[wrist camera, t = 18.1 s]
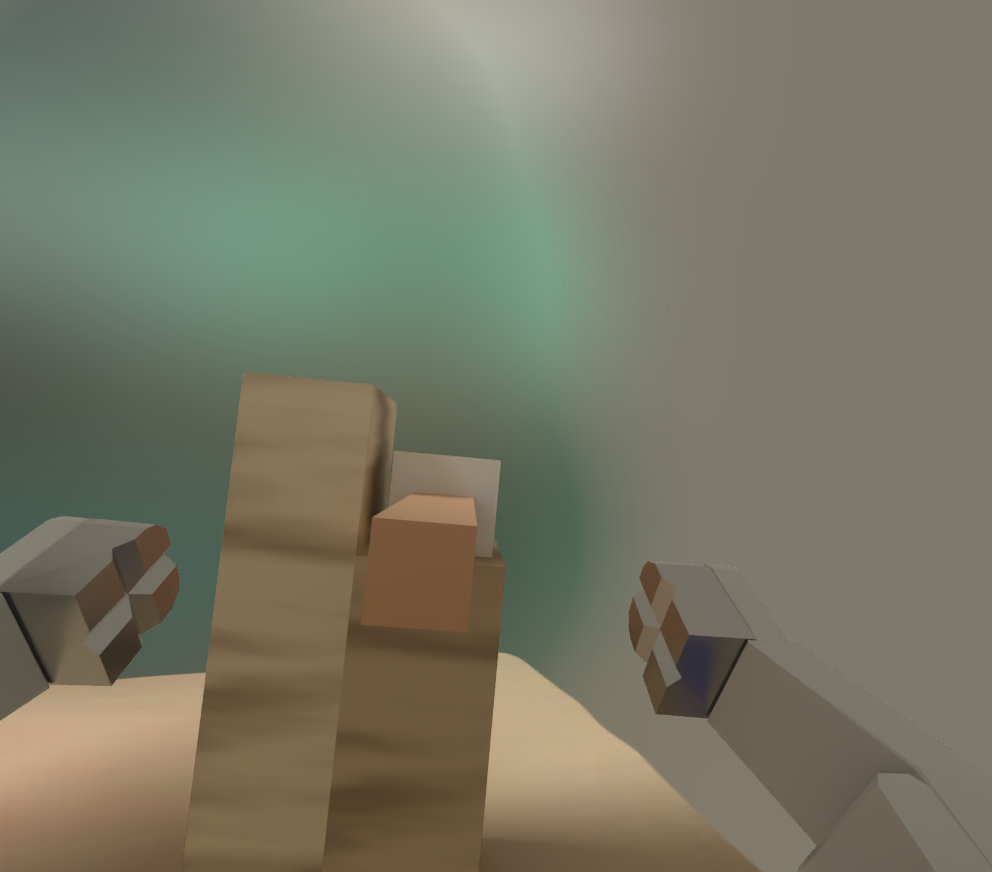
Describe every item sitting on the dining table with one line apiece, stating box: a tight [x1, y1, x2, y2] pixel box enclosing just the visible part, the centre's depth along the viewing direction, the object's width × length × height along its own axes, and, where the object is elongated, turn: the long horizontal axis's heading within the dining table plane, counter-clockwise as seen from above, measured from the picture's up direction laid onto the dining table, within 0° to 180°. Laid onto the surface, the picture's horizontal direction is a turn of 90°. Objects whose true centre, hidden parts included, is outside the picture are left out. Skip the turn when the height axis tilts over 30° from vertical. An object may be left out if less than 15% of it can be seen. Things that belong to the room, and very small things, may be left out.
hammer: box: [361, 451, 501, 632], centre depth 21 cm, size 16×6×5 cm, turn 4°
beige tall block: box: [182, 372, 505, 872], centre depth 25 cm, size 8×13×26 cm, turn 94°
